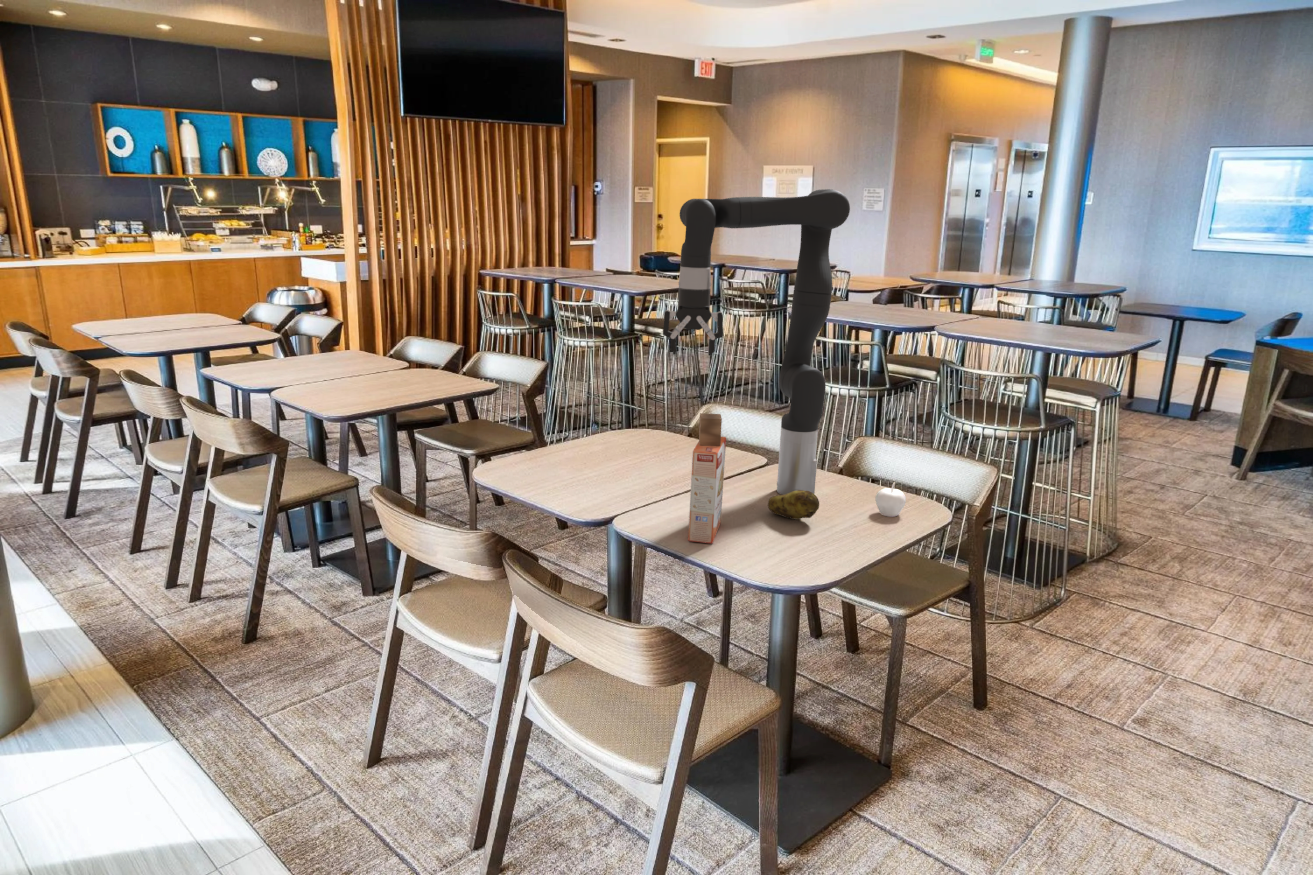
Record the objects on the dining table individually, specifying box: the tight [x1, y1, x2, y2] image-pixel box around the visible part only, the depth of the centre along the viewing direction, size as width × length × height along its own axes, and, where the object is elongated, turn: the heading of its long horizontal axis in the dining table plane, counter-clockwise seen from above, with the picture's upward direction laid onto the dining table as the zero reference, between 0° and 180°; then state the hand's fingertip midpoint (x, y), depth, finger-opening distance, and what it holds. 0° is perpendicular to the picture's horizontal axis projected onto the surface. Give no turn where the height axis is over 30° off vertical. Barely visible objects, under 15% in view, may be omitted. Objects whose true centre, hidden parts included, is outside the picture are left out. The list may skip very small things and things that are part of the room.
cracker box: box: [687, 436, 727, 545], centre depth 192 cm, size 14×6×21 cm, turn 168°
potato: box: [767, 490, 820, 520], centre depth 203 cm, size 8×13×8 cm, turn 25°
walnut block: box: [698, 413, 723, 446], centre depth 189 cm, size 4×4×6 cm
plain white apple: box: [875, 481, 907, 518], centre depth 209 cm, size 7×7×8 cm
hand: (692, 354), depth 209 cm, fingers open, 8 cm apart
